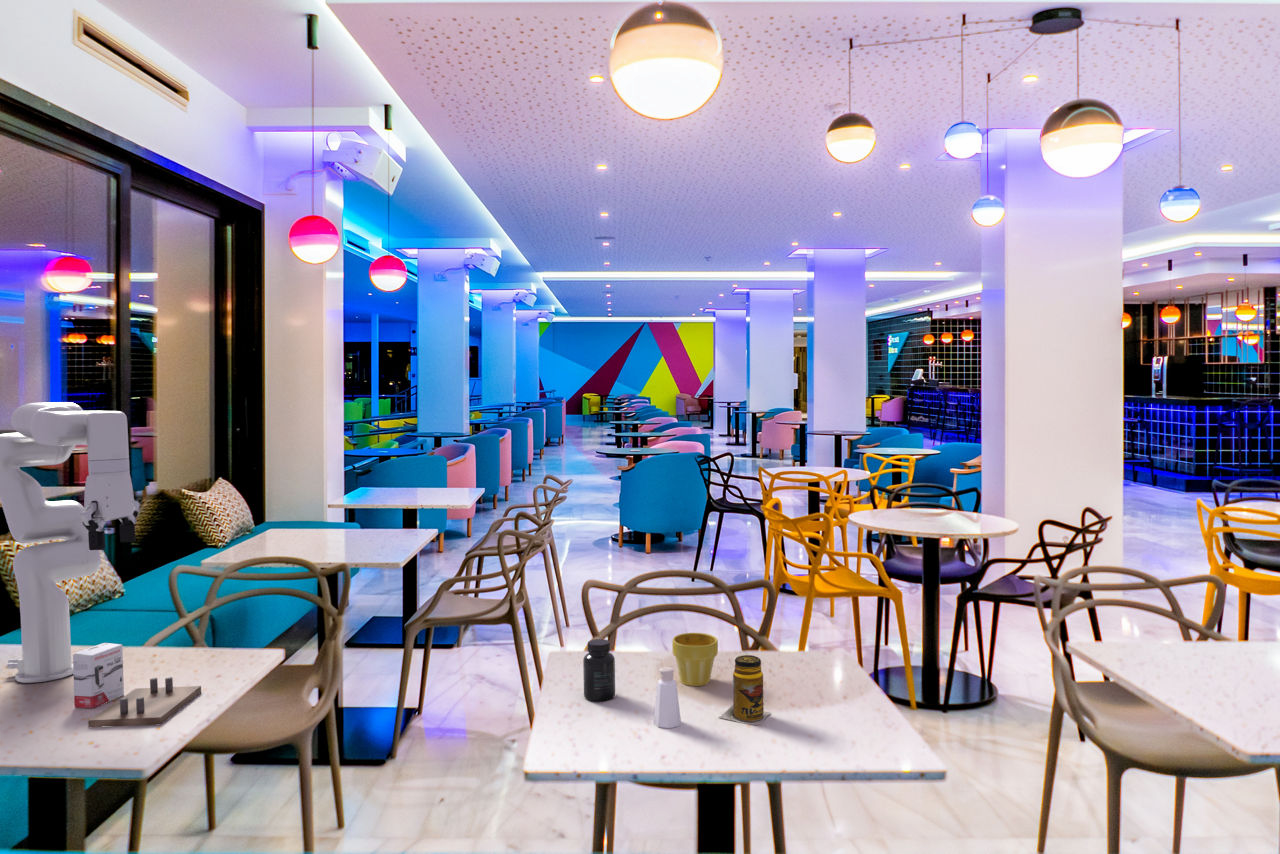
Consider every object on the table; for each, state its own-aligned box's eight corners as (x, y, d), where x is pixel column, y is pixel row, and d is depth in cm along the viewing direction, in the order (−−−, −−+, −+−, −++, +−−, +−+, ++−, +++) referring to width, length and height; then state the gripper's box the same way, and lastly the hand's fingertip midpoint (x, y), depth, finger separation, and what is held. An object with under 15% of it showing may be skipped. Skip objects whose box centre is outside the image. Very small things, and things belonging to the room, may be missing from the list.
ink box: (92, 709, 175) (90, 655, 175) (73, 708, 176) (71, 654, 176) (125, 695, 184) (123, 642, 183) (107, 693, 185) (105, 641, 184)
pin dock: (88, 727, 166) (87, 705, 165) (136, 695, 184) (135, 675, 183) (160, 724, 167) (160, 702, 167) (201, 692, 185) (200, 672, 184)
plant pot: (726, 685, 184) (725, 642, 184) (684, 692, 181) (683, 648, 180) (705, 671, 194) (705, 630, 194) (665, 677, 190) (665, 635, 190)
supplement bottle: (583, 691, 182) (582, 637, 181) (614, 690, 182) (613, 636, 182) (583, 703, 175) (582, 647, 174) (616, 701, 175) (615, 646, 175)
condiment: (757, 726, 162) (757, 666, 161) (718, 718, 166) (717, 659, 165) (770, 713, 168) (770, 655, 167) (732, 706, 172) (731, 649, 172)
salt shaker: (679, 717, 166) (679, 663, 166) (682, 728, 161) (681, 672, 161) (653, 718, 166) (652, 664, 166) (654, 729, 161) (653, 673, 160)
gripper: (119, 465, 188) (123, 539, 189) (62, 471, 171) (67, 553, 171) (151, 464, 188) (154, 538, 188) (97, 470, 171) (102, 552, 171)
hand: (113, 545), depth 180 cm, fingers open, 9 cm apart
